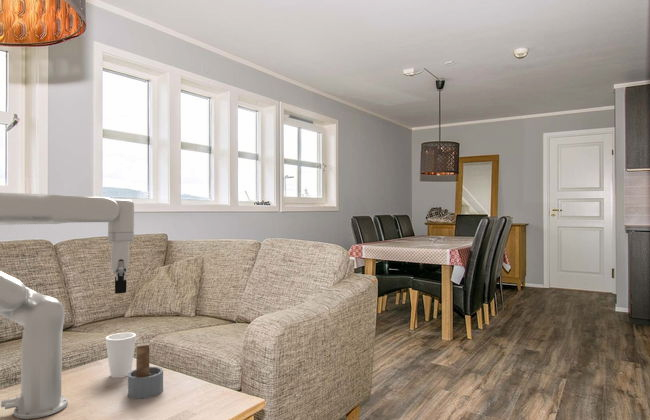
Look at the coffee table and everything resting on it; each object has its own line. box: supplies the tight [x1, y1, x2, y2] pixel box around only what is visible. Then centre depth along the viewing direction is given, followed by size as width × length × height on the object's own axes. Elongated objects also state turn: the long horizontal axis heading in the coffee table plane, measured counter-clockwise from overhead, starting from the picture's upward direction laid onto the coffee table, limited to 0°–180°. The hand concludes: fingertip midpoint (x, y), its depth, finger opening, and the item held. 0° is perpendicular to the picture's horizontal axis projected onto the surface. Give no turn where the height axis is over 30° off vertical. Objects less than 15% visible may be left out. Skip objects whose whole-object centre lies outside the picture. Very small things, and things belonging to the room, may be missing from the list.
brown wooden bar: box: [135, 342, 150, 377], centre depth 132 cm, size 4×2×14 cm
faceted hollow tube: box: [127, 366, 164, 400], centre depth 133 cm, size 10×10×6 cm
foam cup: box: [105, 332, 137, 379], centre depth 148 cm, size 10×9×13 cm
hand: (120, 290), depth 139 cm, fingers open, 9 cm apart
